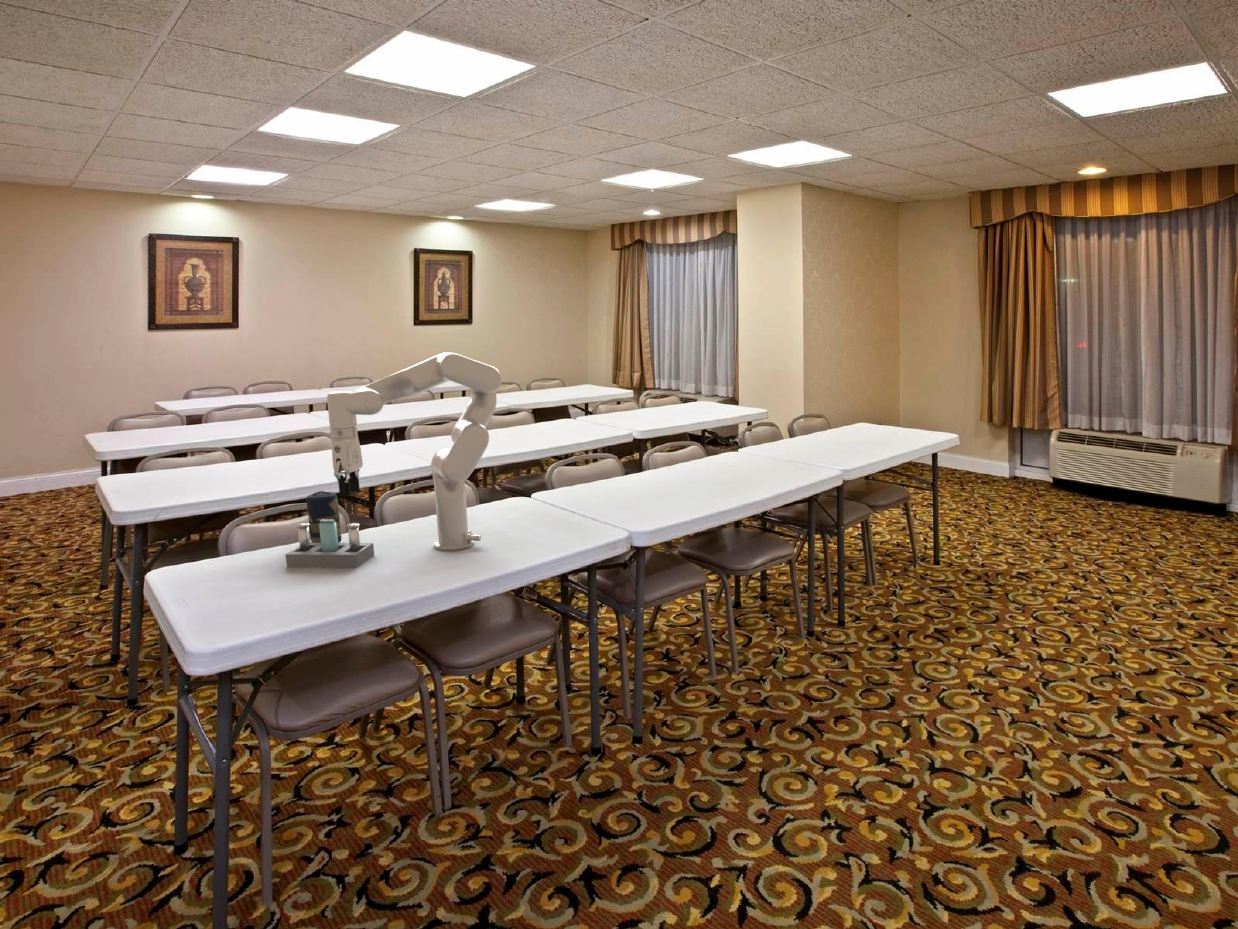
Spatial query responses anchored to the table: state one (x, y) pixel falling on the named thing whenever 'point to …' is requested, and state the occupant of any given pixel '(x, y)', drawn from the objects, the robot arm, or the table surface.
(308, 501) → the canister
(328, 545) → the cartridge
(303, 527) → the plunger
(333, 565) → the housing
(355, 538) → the plunger
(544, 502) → the table surface
